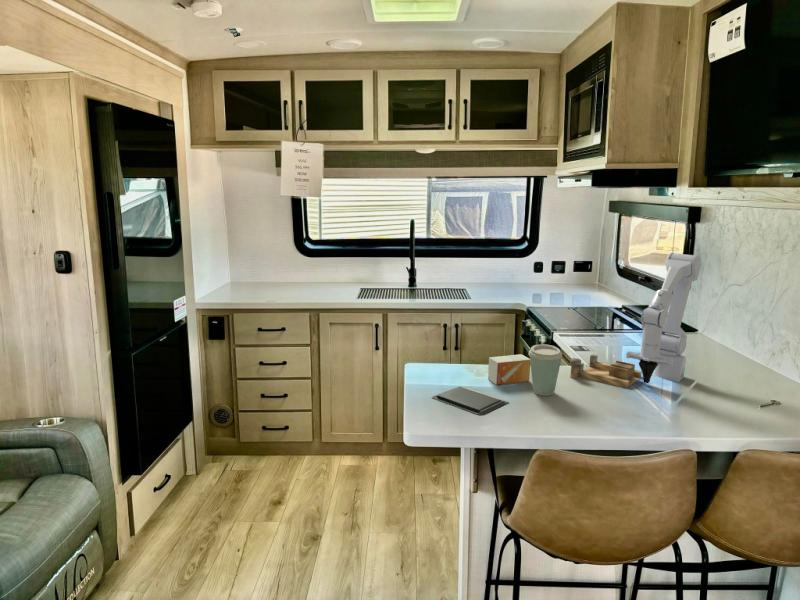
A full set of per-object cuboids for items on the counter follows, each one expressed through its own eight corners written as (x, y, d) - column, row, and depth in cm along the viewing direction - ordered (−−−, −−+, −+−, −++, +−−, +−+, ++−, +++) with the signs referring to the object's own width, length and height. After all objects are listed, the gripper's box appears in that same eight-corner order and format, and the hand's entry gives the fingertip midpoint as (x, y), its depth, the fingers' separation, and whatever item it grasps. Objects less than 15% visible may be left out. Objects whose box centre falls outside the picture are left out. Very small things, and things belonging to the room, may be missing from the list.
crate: (633, 378, 201) (635, 363, 200) (625, 384, 195) (627, 369, 194) (616, 374, 205) (617, 359, 204) (608, 380, 199) (609, 365, 197)
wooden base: (640, 378, 203) (643, 359, 201) (622, 392, 189) (625, 372, 187) (587, 366, 215) (589, 348, 213) (567, 379, 201) (568, 359, 199)
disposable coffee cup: (565, 397, 183) (568, 352, 180) (533, 399, 182) (536, 353, 178) (551, 385, 194) (554, 343, 190) (521, 387, 192) (523, 344, 189)
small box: (529, 381, 197) (496, 385, 193) (520, 375, 203) (487, 379, 199) (531, 359, 195) (497, 362, 191) (521, 353, 201) (488, 357, 197)
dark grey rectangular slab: (429, 394, 181) (460, 382, 191) (429, 399, 181) (460, 388, 192) (480, 412, 167) (510, 399, 177) (479, 419, 167) (510, 405, 178)
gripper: (624, 341, 193) (620, 380, 196) (670, 350, 184) (665, 390, 187) (631, 337, 198) (627, 374, 201) (676, 345, 189) (671, 384, 192)
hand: (646, 382), depth 194 cm, fingers closed
